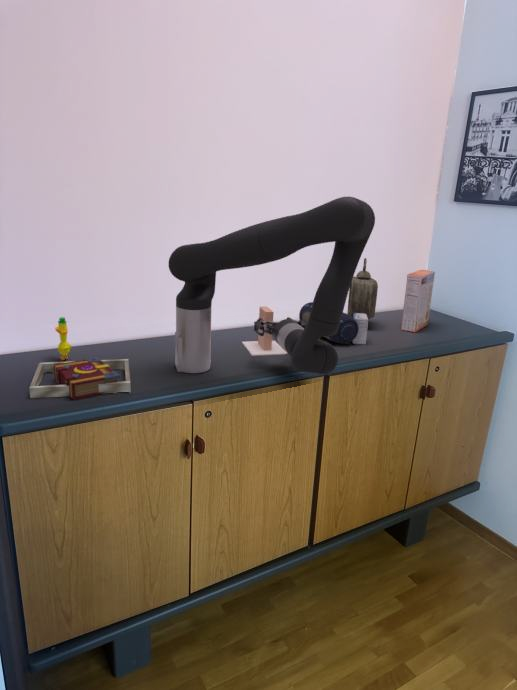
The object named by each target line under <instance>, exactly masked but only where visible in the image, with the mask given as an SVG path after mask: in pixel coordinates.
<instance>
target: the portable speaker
mask: <svg viewBox="0 0 517 690" xmlns="http://www.w3.org/2000/svg"><path fill="white" fill-rule="evenodd" d="M312 304H313V301H309V302H307V303H305V304H303V306H302V307H301V308H300V310H299V313H298V315H299V317H298V318H299V319H298V320H302V321H304V322H305V323H306V324H307V322H308V320H309V316H310V312H311V308H312ZM358 330H359V329H358V324H357V322H356V321H355V319H354V318H352V317H351V316H350V315H348V313H346V312H343V314H342V317H341V321H340V325H339V328H338V331H337V333H336V334H335V335H332V336H324V337H323V338H325V339H328V340H330V341H332V342H333V343H337V344H341V345H343V344H348V343H351V342H353V341H352V340H353V339H355V337H356V336H357V334H358Z"/></svg>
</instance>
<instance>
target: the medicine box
mask: <svg viewBox="0 0 517 690" xmlns="http://www.w3.org/2000/svg"><path fill="white" fill-rule="evenodd" d="M353 318H354V319H355V321H356V322H357V324H358V329H359V330H358V334H357V336H356V337H355V339H353V340H352V341H351V342H352V344H355V345H363V346H365V345H366V344H367V337H368V336H367V335H368V328H369V327H368V326H369V319H368V317H367V314H362V313H354V316H353Z"/></svg>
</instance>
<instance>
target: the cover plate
mask: <svg viewBox="0 0 517 690" xmlns="http://www.w3.org/2000/svg"><path fill="white" fill-rule="evenodd" d="M258 311H259V313H258V315H259V316H258V318H262V319H263V320H264V321H266V322H267V321H273V322H274V311H273V310H271V308H269V307H268V306H267V305H266V306H259V310H258ZM271 325H272V324H271ZM264 326H265V328H266V325H265V324H264ZM257 336H258V337H257V341H258V344H259V345H260V347H261V348H262V349H263V350H271V348H272V341H273V335H270V334H267V333H264V336H260V335H259V334H257Z"/></svg>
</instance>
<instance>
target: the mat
mask: <svg viewBox="0 0 517 690" xmlns="http://www.w3.org/2000/svg"><path fill="white" fill-rule="evenodd" d="M241 343H242V345H243V346H244V348H245V350H247V352H248V353H249V354H250V355H251V356H252V357H258V356H259V357H261V356H282V355H283V356H284V355H285V356H286V354H287V355H288V354H289V353H288V352H286V351H285V350H284V349H283V348H282V347H281V346H280V345H279V344H278V343H277V342H276V341H275V340H272V348H271V350H263V349H262V348H261V347H260V345H259V344H258V340H250V341H241Z"/></svg>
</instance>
